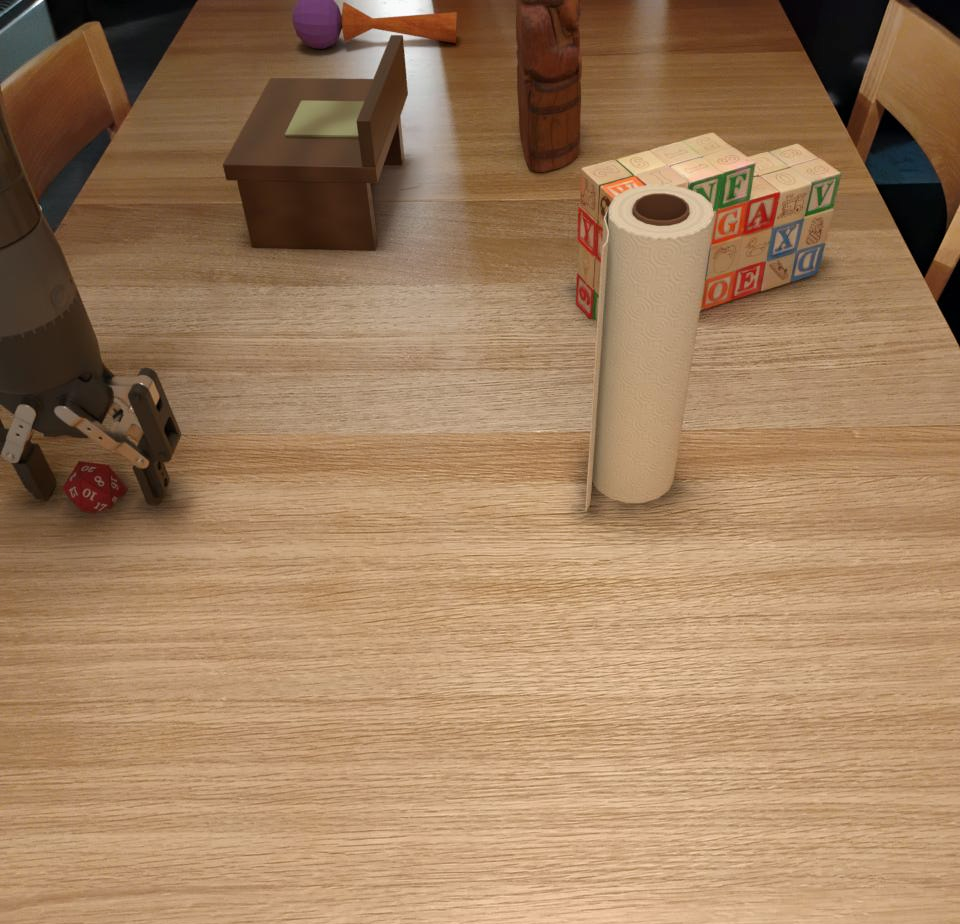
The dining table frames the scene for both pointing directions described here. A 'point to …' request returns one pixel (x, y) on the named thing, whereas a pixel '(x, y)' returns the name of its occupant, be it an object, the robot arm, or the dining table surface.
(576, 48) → the wooden figurine
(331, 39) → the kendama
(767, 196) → the stack of blocks
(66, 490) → the dice
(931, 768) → the dining table surface
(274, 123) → the miniature wooden chair
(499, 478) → the dining table surface
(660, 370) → the paper towel roll
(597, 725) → the dining table surface
